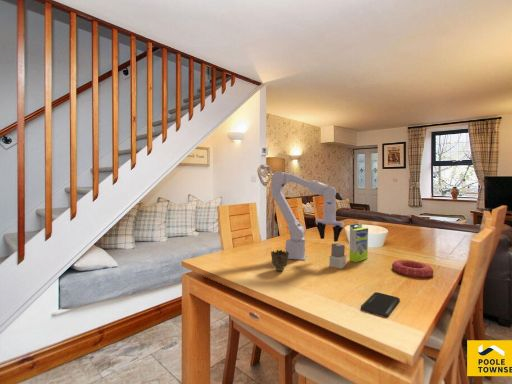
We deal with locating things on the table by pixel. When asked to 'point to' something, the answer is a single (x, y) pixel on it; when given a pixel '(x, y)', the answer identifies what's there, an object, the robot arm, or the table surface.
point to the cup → (279, 259)
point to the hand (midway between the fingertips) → (328, 239)
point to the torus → (412, 268)
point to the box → (358, 242)
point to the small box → (338, 261)
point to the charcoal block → (338, 250)
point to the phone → (380, 304)
